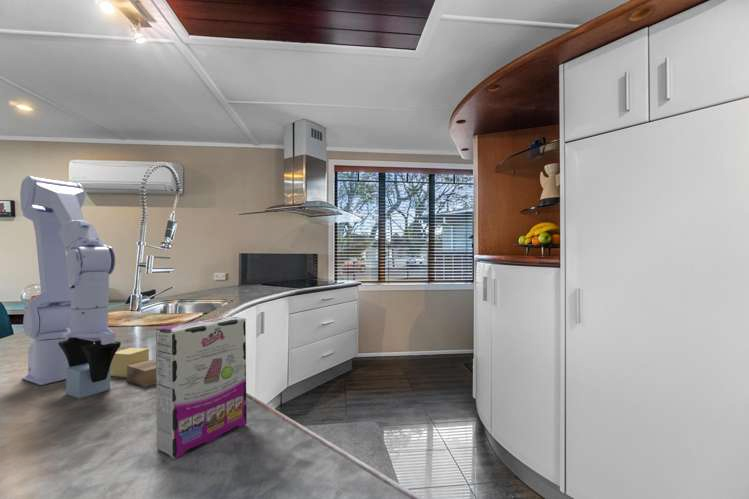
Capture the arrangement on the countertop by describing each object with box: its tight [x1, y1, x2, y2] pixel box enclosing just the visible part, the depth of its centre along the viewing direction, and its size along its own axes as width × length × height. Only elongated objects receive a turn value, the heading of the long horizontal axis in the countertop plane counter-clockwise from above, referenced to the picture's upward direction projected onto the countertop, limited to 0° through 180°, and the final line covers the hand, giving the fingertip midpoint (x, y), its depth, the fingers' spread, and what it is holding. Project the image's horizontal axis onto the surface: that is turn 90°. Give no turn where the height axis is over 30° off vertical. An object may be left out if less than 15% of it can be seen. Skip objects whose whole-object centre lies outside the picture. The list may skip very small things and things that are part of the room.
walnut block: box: [126, 358, 157, 388], centre depth 74 cm, size 7×7×4 cm
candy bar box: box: [155, 315, 247, 460], centre depth 50 cm, size 11×5×16 cm, turn 148°
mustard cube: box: [110, 347, 150, 378], centre depth 78 cm, size 5×5×5 cm
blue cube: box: [65, 363, 111, 399], centre depth 67 cm, size 5×5×5 cm
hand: (88, 377), depth 67 cm, fingers open, 7 cm apart
